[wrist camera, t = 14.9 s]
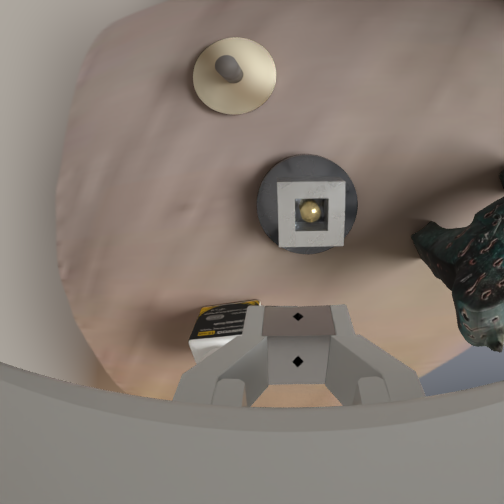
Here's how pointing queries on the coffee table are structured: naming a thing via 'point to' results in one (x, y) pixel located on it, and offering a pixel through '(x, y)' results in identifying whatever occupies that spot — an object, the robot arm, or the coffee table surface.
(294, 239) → the square tunnel block
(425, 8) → the coffee table surface
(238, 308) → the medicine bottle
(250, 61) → the stand
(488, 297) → the bull figurine
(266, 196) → the hub
